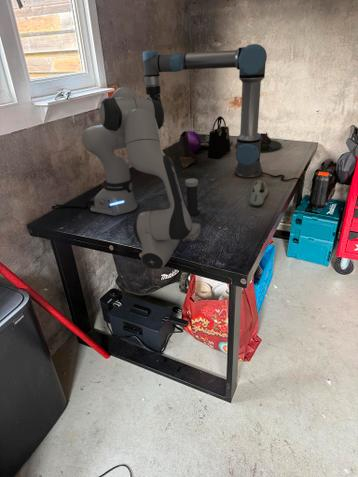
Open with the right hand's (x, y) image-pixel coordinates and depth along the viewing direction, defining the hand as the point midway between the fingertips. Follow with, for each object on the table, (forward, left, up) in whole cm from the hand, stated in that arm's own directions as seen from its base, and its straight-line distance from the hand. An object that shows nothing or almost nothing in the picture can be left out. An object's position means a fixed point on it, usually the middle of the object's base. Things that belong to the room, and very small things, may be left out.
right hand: (156, 128), depth 177 cm
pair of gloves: (-14, -76, -28) cm, 83 cm away
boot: (-9, -30, -28) cm, 42 cm away
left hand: (-29, +65, -20) cm, 74 cm away
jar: (-29, +42, -28) cm, 58 cm away
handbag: (-26, -50, -28) cm, 63 cm away
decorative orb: (-5, -53, -28) cm, 60 cm away
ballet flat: (-57, +20, -28) cm, 67 cm away
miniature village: (-50, -74, -28) cm, 93 cm away
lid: (-29, +42, -13) cm, 53 cm away
